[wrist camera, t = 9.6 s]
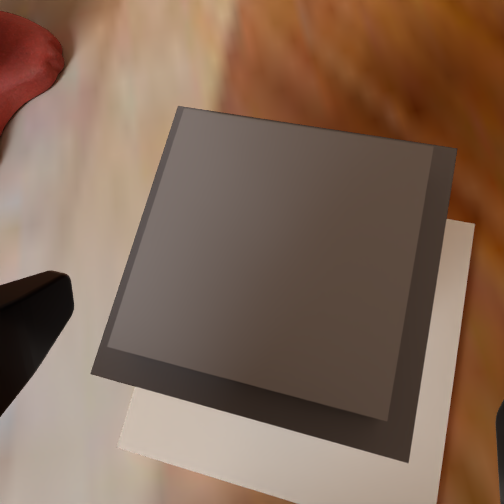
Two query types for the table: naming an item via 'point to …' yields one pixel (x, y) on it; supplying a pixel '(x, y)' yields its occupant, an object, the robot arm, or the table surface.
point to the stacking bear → (25, 62)
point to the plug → (285, 277)
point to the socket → (311, 448)
